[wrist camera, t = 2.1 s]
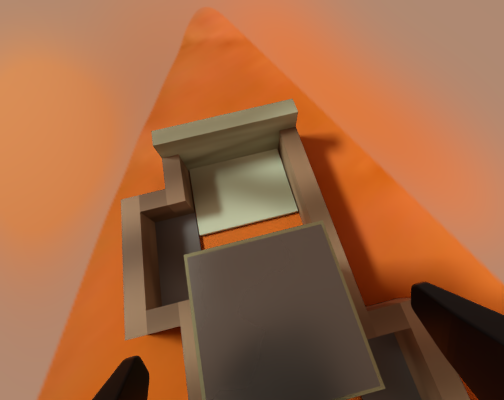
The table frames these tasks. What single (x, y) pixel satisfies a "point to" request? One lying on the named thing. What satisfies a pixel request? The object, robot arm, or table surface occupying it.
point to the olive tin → (277, 320)
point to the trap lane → (243, 213)
